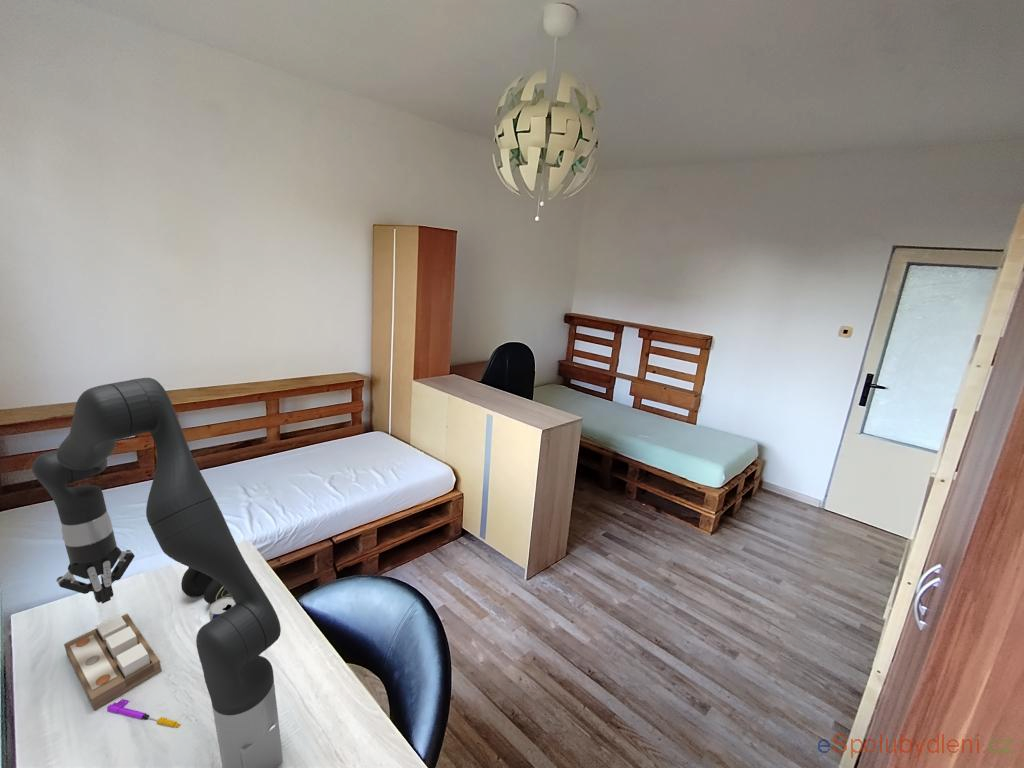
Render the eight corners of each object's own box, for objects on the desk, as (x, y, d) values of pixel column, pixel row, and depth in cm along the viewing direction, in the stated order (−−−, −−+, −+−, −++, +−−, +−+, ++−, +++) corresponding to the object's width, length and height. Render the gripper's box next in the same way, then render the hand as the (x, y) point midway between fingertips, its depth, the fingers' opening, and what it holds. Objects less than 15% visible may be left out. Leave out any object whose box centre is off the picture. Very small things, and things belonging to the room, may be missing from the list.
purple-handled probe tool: (105, 712, 87) (176, 731, 85) (105, 706, 87) (176, 725, 85) (119, 701, 90) (188, 720, 88) (119, 696, 90) (188, 714, 88)
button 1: (128, 634, 103) (126, 623, 102) (105, 646, 99) (102, 635, 98) (122, 624, 105) (120, 614, 104) (99, 636, 101) (96, 625, 101)
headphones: (205, 577, 122) (195, 515, 116) (248, 591, 119) (240, 528, 113) (174, 599, 114) (162, 533, 109) (220, 615, 111) (209, 548, 105)
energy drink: (229, 659, 100) (223, 617, 96) (209, 653, 101) (202, 611, 97) (247, 640, 105) (242, 599, 101) (228, 634, 106) (222, 594, 102)
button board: (161, 670, 96) (159, 658, 95) (94, 710, 87) (91, 697, 86) (129, 623, 107) (126, 611, 106) (66, 654, 98) (63, 642, 97)
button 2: (150, 664, 95) (148, 653, 94) (125, 678, 91) (122, 667, 91) (143, 653, 97) (140, 642, 96) (118, 667, 94) (116, 656, 93)
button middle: (138, 646, 98) (136, 635, 98) (114, 659, 95) (111, 648, 94) (131, 636, 101) (129, 626, 100) (108, 648, 97) (105, 638, 96)
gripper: (49, 557, 87) (69, 627, 92) (134, 526, 97) (148, 591, 102) (40, 541, 91) (60, 610, 96) (122, 513, 101) (136, 576, 106)
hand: (105, 600), depth 99 cm, fingers closed
